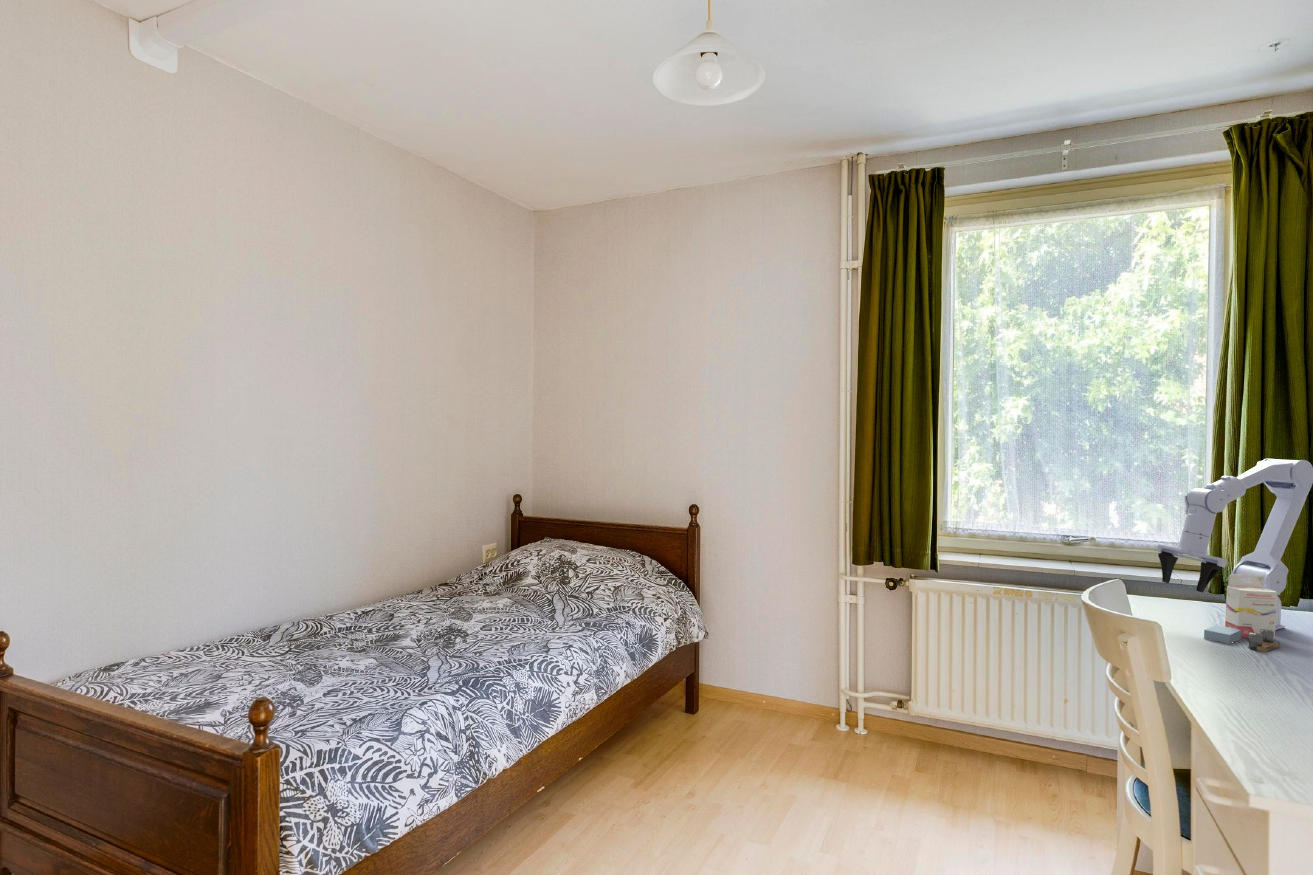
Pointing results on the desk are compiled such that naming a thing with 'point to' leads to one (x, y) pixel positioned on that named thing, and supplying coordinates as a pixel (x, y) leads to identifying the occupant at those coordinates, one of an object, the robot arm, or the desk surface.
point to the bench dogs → (1262, 641)
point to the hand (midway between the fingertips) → (1182, 587)
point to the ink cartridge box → (1250, 605)
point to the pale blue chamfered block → (1222, 634)
